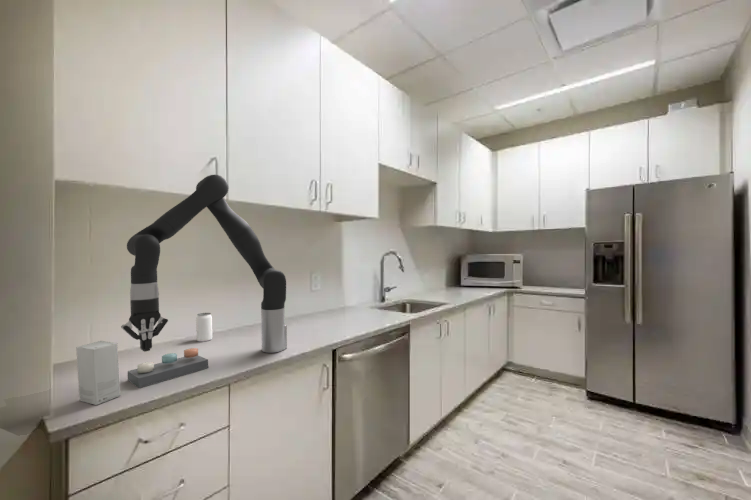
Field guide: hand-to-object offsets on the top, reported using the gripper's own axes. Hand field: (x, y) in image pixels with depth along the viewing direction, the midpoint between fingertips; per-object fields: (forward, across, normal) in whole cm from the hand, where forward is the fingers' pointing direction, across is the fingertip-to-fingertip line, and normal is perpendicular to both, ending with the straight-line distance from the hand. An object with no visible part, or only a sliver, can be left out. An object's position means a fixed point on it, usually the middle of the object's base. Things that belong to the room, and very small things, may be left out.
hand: (146, 350), depth 109 cm
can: (+10, -34, -32) cm, 48 cm away
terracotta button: (+5, -14, 0) cm, 15 cm away
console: (+10, -7, 0) cm, 12 cm away
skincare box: (+10, +13, +4) cm, 17 cm away
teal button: (+5, -7, 0) cm, 9 cm away
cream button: (+6, 0, 0) cm, 6 cm away
